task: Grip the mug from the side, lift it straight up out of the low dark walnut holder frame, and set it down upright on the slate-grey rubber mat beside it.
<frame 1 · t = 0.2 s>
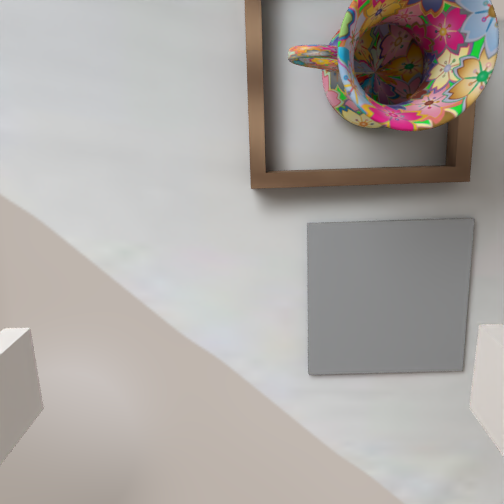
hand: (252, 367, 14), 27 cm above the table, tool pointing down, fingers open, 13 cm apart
mat: (386, 298, 42), on the table
holder frame: (356, 72, 37), on the table
mug: (356, 73, 38), resting in holder frame
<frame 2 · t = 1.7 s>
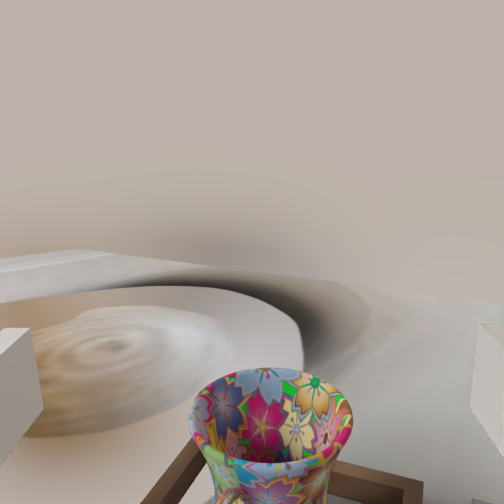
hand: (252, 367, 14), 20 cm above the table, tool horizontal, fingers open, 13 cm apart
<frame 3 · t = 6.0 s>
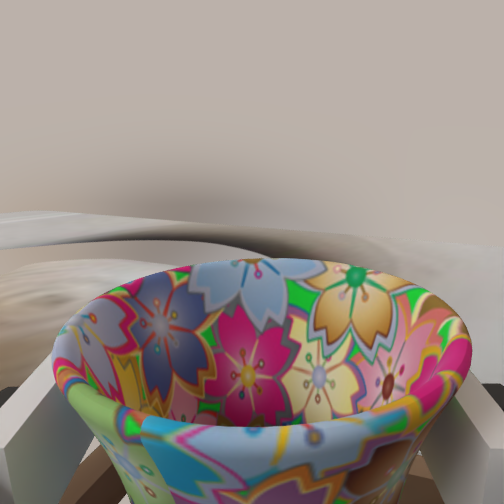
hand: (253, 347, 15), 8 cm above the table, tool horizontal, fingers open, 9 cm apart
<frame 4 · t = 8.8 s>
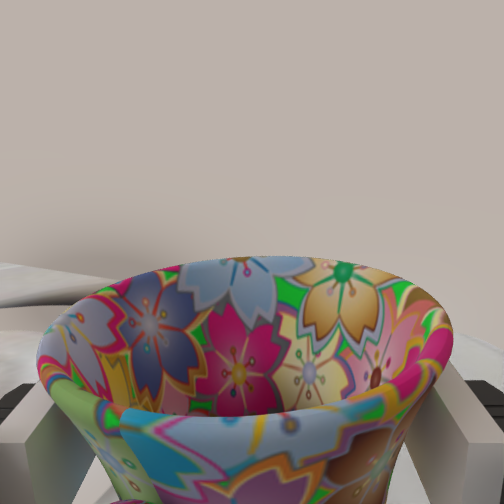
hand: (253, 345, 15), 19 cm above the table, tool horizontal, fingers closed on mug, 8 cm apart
when the fingers open (10 cm above the table, at t = 11.6 s): mug drops 1 cm, resting on mat.
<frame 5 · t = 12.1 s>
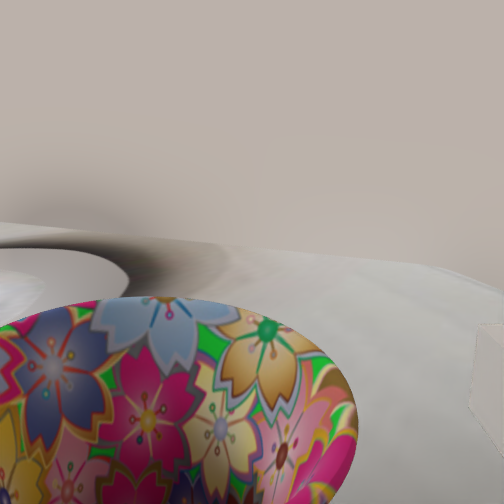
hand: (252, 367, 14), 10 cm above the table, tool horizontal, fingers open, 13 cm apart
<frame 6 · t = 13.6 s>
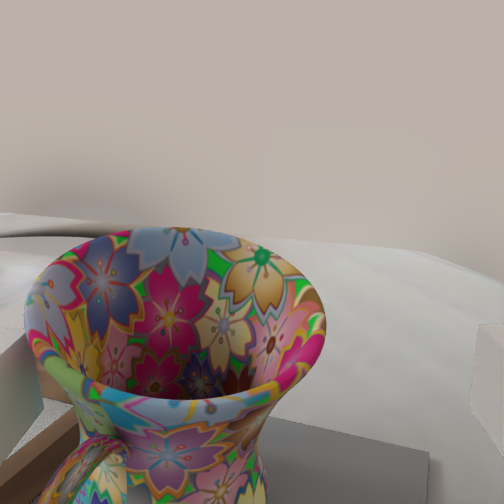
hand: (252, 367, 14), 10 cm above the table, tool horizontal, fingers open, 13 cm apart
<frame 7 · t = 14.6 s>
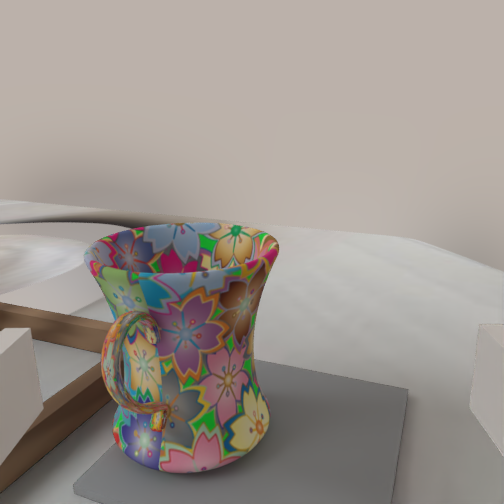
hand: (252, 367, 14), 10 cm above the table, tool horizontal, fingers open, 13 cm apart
mat: (264, 438, 26), on the table
mug: (184, 447, 25), resting on mat
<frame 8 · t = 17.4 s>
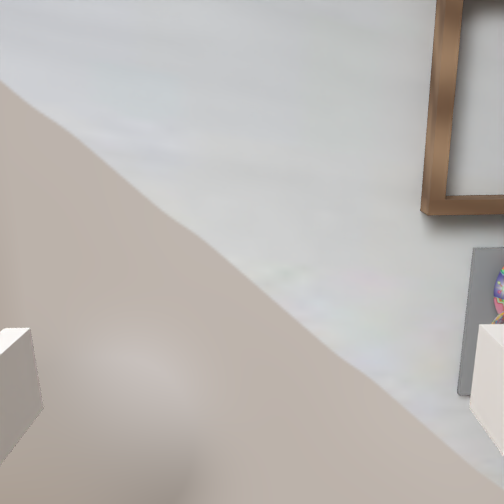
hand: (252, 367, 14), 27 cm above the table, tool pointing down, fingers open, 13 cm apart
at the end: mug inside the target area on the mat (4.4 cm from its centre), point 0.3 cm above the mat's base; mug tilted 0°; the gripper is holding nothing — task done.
